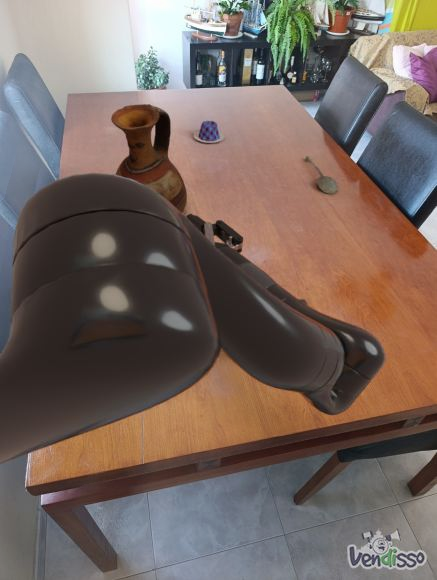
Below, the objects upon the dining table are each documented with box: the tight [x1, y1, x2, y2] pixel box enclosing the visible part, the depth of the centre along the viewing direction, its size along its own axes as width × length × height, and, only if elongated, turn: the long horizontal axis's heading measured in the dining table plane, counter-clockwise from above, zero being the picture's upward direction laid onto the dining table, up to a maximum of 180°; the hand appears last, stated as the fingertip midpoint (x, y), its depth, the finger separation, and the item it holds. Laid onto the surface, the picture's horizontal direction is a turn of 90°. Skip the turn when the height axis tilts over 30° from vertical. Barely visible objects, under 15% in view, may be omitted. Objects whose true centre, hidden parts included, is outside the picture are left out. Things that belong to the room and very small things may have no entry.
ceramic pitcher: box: [110, 103, 188, 214], centre depth 97 cm, size 20×20×30 cm
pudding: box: [193, 120, 226, 144], centre depth 140 cm, size 12×12×5 cm
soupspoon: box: [305, 155, 339, 195], centre depth 125 cm, size 22×3×7 cm
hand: (166, 229), depth 58 cm, fingers open, 8 cm apart
